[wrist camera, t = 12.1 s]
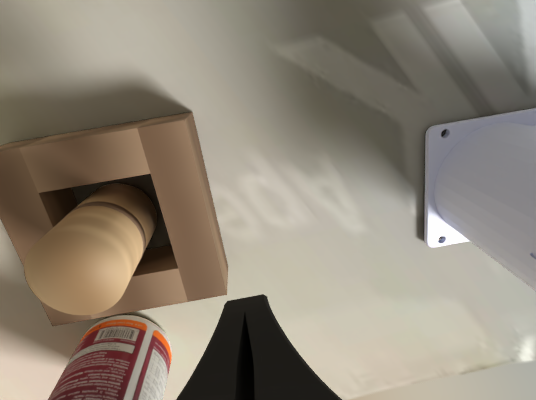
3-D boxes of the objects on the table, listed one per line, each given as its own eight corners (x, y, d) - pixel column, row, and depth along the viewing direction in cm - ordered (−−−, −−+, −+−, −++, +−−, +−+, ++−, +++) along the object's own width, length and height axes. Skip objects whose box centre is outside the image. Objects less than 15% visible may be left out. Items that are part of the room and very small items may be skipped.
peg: (151, 172, 20) (111, 224, 14) (167, 234, 22) (138, 307, 15) (81, 183, 20) (7, 239, 14) (102, 244, 22) (44, 322, 15)
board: (192, 111, 19) (184, 120, 16) (227, 266, 23) (226, 294, 20) (9, 142, 19) (-30, 156, 16) (75, 294, 23) (52, 326, 20)
